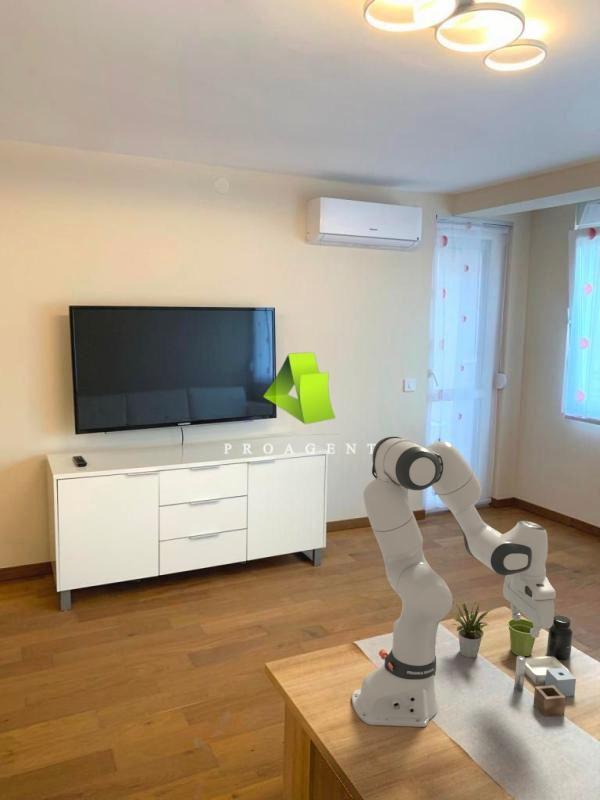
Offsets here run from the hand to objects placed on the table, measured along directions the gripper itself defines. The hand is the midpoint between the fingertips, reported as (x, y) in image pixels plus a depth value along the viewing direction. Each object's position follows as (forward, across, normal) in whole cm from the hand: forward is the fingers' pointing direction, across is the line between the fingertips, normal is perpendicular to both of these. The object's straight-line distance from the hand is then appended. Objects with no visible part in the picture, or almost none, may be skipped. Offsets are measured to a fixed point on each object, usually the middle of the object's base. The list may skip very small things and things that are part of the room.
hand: (524, 627), depth 174 cm
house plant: (+18, -20, -8) cm, 28 cm away
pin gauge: (+18, 0, -1) cm, 18 cm away
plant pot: (+18, -18, +10) cm, 28 cm away
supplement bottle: (+19, -15, +21) cm, 32 cm away
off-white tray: (+18, -6, +11) cm, 22 cm away
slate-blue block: (+18, +2, +10) cm, 21 cm away
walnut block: (+18, +10, +2) cm, 21 cm away
